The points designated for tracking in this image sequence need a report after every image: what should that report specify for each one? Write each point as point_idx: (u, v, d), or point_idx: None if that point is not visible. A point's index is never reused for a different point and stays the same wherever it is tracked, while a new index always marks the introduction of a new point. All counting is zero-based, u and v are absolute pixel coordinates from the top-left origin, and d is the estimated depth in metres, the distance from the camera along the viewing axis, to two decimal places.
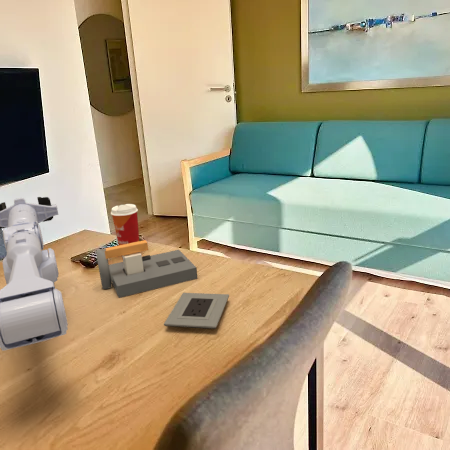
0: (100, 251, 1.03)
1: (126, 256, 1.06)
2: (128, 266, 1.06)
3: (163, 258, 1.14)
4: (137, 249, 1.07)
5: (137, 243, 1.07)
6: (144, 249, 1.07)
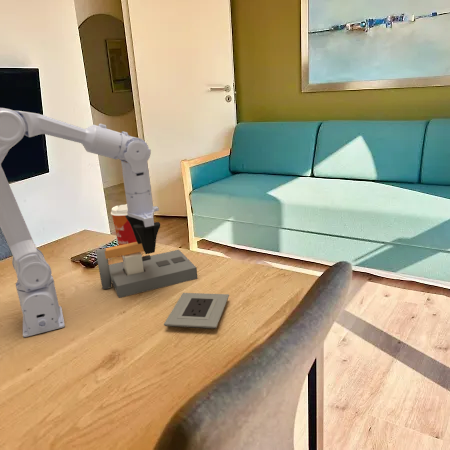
0: (100, 251, 1.03)
1: (126, 256, 1.06)
2: (128, 266, 1.06)
3: (163, 258, 1.14)
4: (137, 249, 1.07)
5: (137, 243, 1.07)
6: None
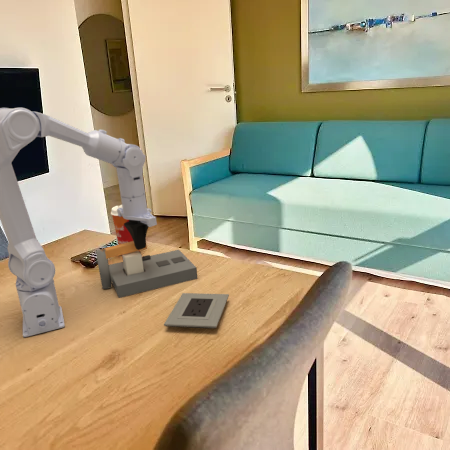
0: (100, 251, 1.03)
1: (126, 256, 1.06)
2: (128, 266, 1.06)
3: (163, 258, 1.14)
4: None
5: None
6: None
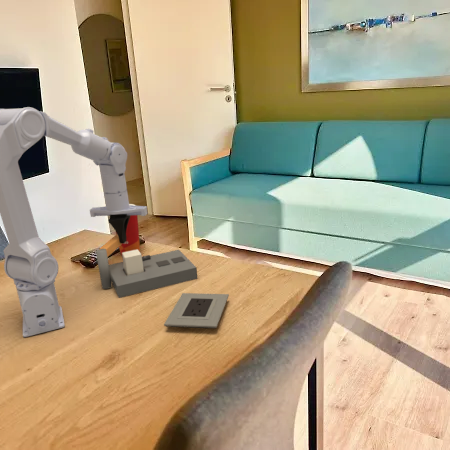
0: (102, 250, 1.04)
1: (126, 256, 1.06)
2: (128, 266, 1.06)
3: (163, 258, 1.14)
4: (119, 242, 1.12)
5: (117, 237, 1.12)
6: None
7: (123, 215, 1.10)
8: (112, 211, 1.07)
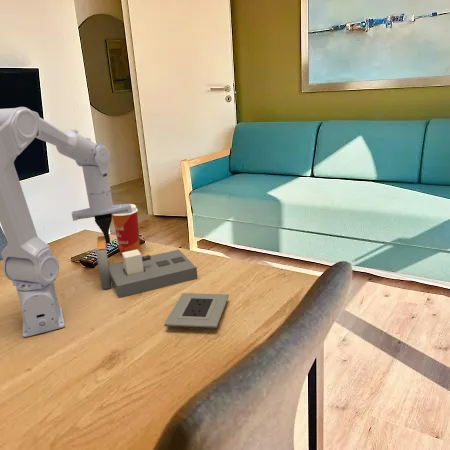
0: (103, 250, 1.04)
1: (126, 256, 1.06)
2: (128, 266, 1.06)
3: (163, 258, 1.14)
4: None
5: (102, 238, 1.12)
6: None
7: (108, 215, 1.10)
8: (100, 211, 1.08)
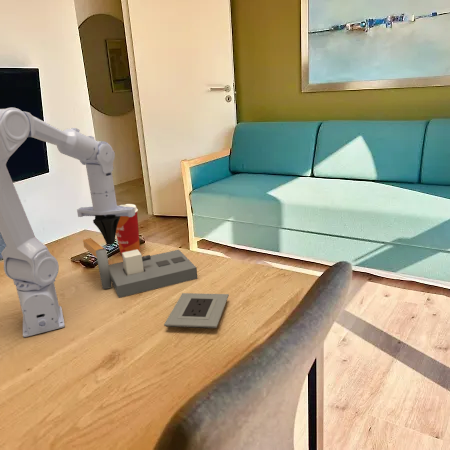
0: (103, 250, 1.04)
1: (126, 256, 1.06)
2: (128, 266, 1.06)
3: (163, 258, 1.14)
4: None
5: (90, 240, 1.11)
6: None
7: (110, 216, 1.07)
8: (98, 211, 1.05)
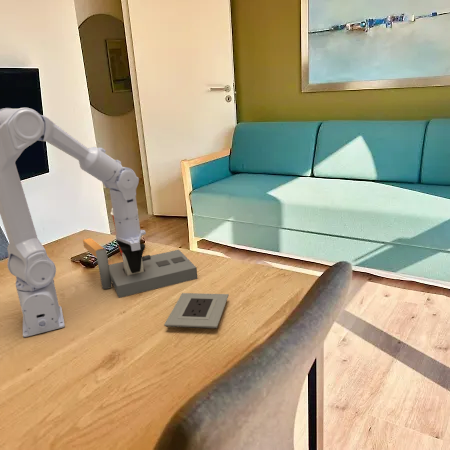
0: (103, 250, 1.04)
1: None
2: (128, 266, 1.06)
3: (163, 258, 1.14)
4: None
5: (90, 240, 1.11)
6: None
7: None
8: (116, 235, 1.05)
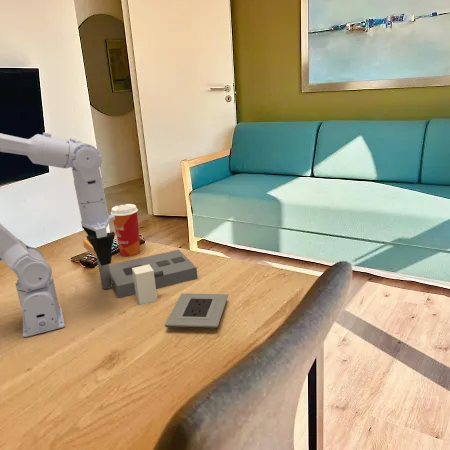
0: None
1: (137, 272, 0.96)
2: (139, 283, 0.96)
3: (163, 258, 1.14)
4: None
5: None
6: None
7: None
8: (81, 221, 0.94)
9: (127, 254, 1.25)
